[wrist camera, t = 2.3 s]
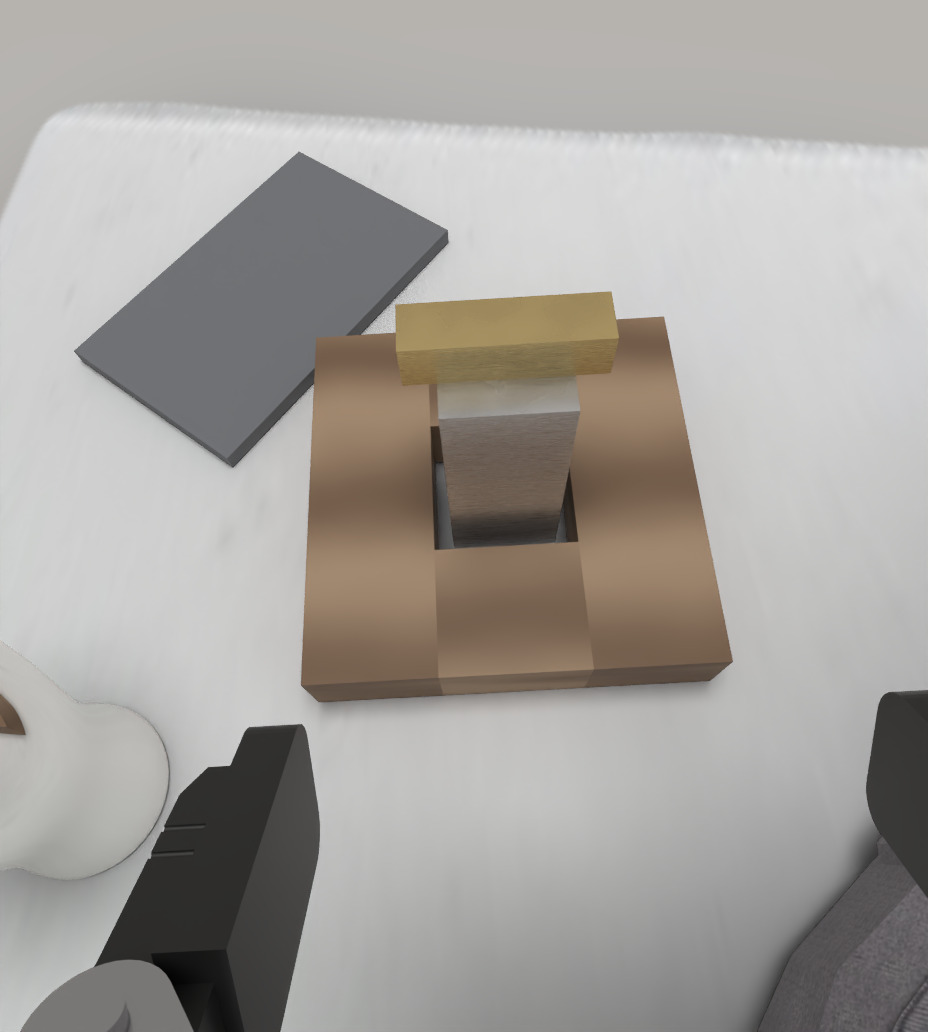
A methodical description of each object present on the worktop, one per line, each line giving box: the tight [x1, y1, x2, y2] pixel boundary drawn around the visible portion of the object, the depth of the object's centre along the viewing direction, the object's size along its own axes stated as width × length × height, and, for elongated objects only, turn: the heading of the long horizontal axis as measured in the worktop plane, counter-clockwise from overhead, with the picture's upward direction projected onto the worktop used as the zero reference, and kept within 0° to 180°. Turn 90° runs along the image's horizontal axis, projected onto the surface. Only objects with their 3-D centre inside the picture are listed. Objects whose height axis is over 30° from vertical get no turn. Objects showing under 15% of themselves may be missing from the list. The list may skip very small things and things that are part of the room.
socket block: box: [301, 317, 733, 702], centre depth 31 cm, size 15×15×3 cm
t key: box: [395, 292, 619, 549], centre depth 26 cm, size 6×4×13 cm, turn 93°
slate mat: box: [74, 152, 448, 467], centre depth 37 cm, size 16×10×1 cm, turn 144°
